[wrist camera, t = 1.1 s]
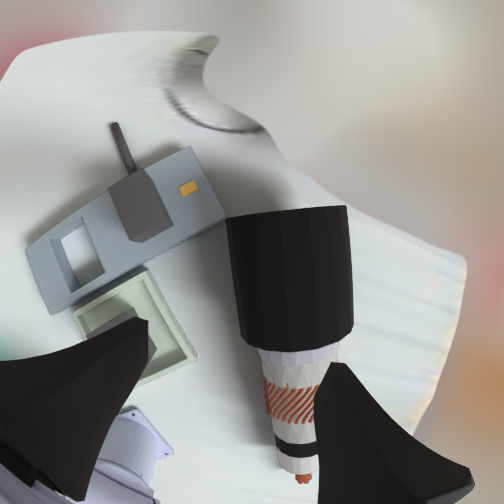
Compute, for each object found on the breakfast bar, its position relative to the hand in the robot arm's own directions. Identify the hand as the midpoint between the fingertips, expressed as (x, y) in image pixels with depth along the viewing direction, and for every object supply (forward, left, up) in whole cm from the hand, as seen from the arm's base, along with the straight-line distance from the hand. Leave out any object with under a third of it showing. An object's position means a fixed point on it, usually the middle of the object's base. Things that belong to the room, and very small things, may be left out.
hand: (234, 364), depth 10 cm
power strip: (-7, +15, -18) cm, 24 cm away
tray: (-11, +1, -18) cm, 21 cm away
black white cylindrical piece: (+2, -11, -19) cm, 22 cm away
